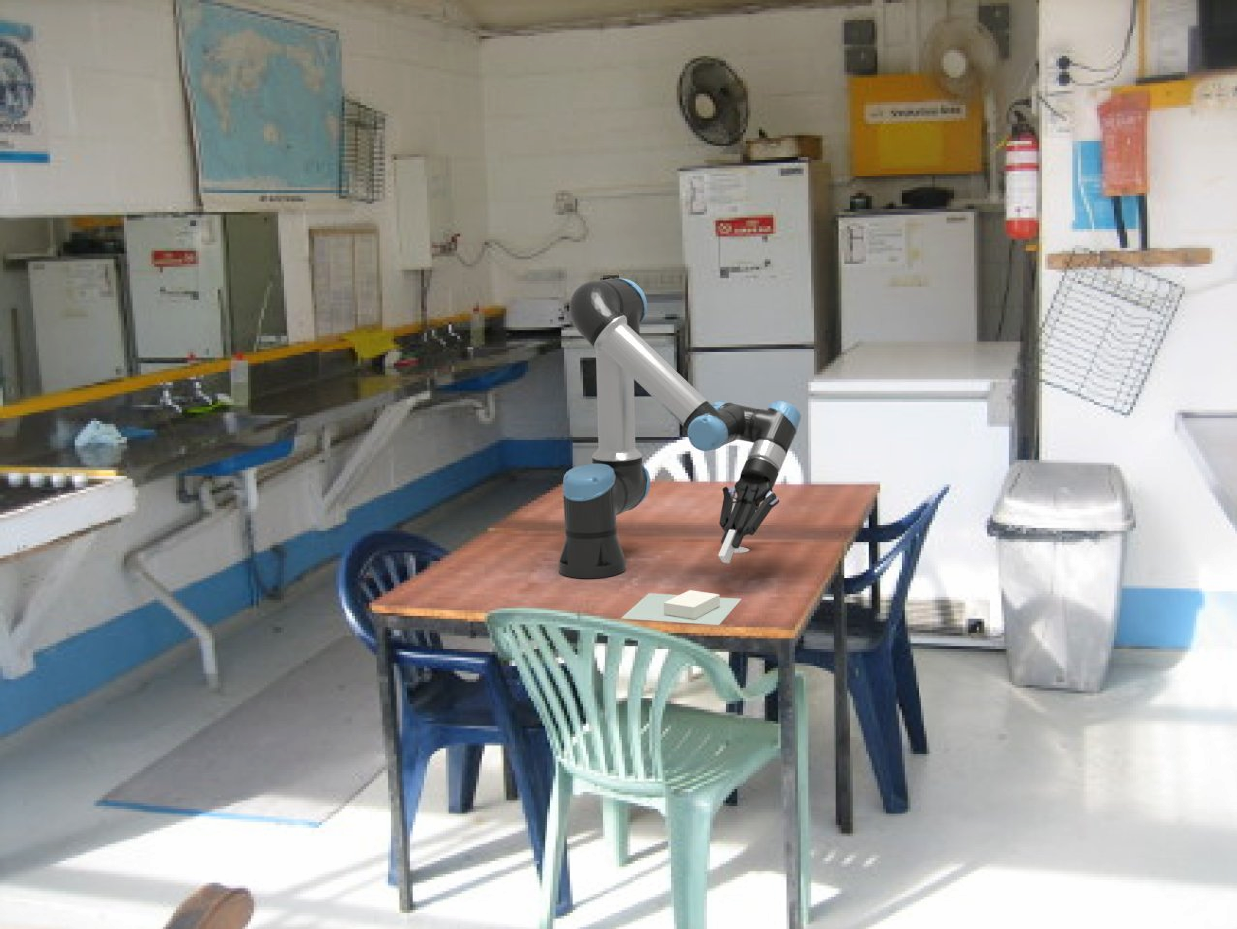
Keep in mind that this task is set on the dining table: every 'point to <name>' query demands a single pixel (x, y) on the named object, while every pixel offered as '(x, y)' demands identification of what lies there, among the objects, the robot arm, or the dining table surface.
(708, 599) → the box
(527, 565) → the dining table surface
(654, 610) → the mat
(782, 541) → the dining table surface
